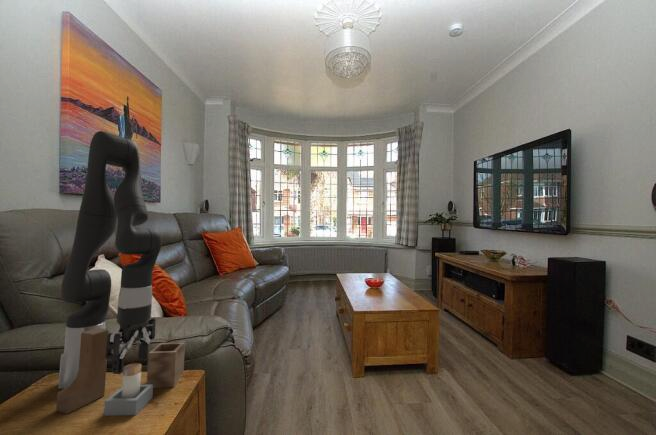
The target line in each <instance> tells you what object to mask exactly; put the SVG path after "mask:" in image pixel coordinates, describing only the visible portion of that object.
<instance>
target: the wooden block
mask: <svg viewBox="0 0 656 435" xmlns="http://www.w3.org/2000/svg"><path fill="white" fill-rule="evenodd" d="M109 333H110V332H109V329H106V328H105V329H101V328H96V329H92V330H89V331H85V332H82V333H81V343H80V358H79V370H78V373H77V376H76V379H75V380H74V381H73V382H72V383H71V385H70V386H68V387H67V388H65V389H60V391H58V392H57V395H56V404H55V405H56V407H55V409H56V411H58V412H60V413H63V414H67V415H68V414H70V413H72V412H74V411H76V410H78V409H80V408H82V407H84V406H86V405H88V404H90V403H92V402H94V401H96V400H98V399H101V398H102V397H104V396H105V393H106V379H107V366H108V365H107V364H108V362H107V360H108V359H105V354H106V346H107V337H108V334H109Z"/></svg>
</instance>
